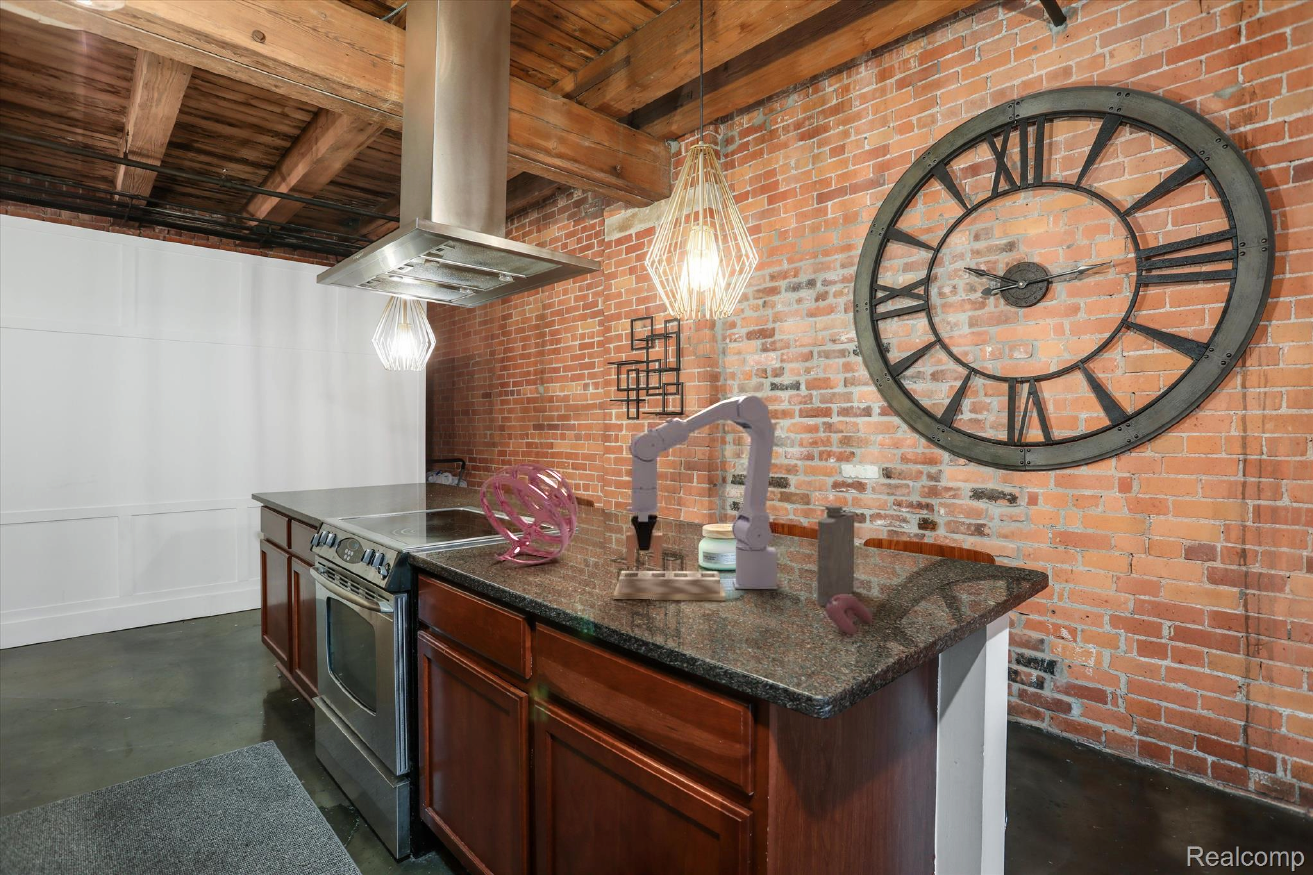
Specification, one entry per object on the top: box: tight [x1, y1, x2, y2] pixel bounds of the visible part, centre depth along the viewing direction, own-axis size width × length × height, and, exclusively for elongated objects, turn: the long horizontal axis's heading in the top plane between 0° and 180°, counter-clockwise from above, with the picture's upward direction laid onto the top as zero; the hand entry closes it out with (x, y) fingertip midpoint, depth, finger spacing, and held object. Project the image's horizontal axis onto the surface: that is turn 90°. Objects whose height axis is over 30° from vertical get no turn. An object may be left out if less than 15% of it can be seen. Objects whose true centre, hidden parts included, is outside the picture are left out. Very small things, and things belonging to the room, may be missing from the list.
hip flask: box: [816, 504, 855, 607], centre depth 139 cm, size 16×4×20 cm, turn 144°
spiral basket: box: [479, 462, 579, 566], centre depth 174 cm, size 28×28×27 cm
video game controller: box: [825, 593, 873, 636], centre depth 120 cm, size 10×5×7 cm, turn 141°
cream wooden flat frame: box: [613, 570, 726, 601], centre depth 142 cm, size 24×11×4 cm, turn 88°
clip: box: [625, 532, 663, 567], centre depth 142 cm, size 8×3×7 cm, turn 88°
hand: (644, 548), depth 142 cm, fingers closed on clip, 3 cm apart
